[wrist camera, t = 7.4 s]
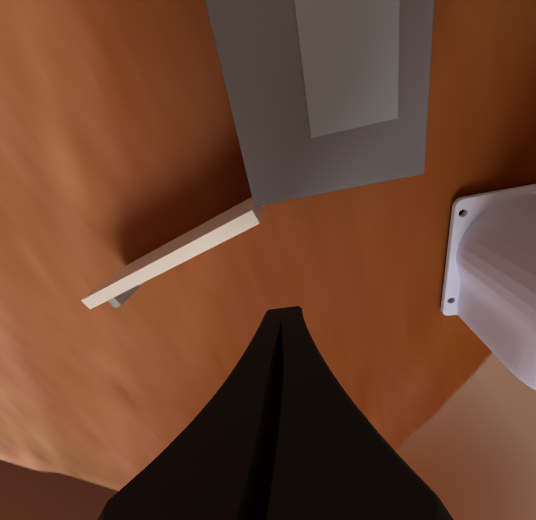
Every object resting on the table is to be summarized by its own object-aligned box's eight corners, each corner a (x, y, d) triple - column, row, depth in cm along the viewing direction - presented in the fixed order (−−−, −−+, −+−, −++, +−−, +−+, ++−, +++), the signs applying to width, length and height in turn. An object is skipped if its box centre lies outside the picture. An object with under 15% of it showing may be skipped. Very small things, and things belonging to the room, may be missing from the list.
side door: (260, 192, 17) (251, 210, 13) (273, 215, 17) (268, 239, 13) (121, 268, 20) (80, 300, 16) (136, 285, 21) (101, 320, 17)
